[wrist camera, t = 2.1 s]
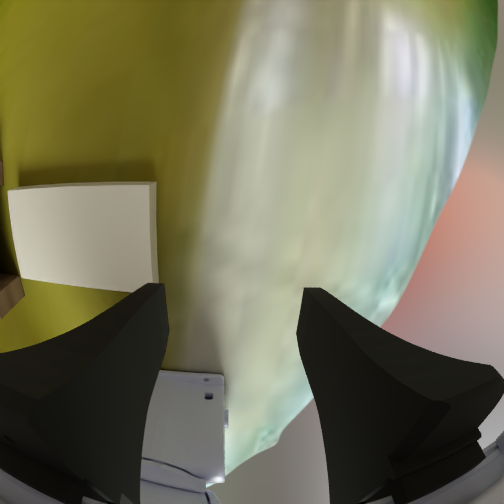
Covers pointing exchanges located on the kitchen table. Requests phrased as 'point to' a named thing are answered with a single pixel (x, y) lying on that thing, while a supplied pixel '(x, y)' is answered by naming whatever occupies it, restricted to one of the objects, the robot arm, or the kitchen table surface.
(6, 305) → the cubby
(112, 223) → the tile
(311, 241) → the kitchen table surface
